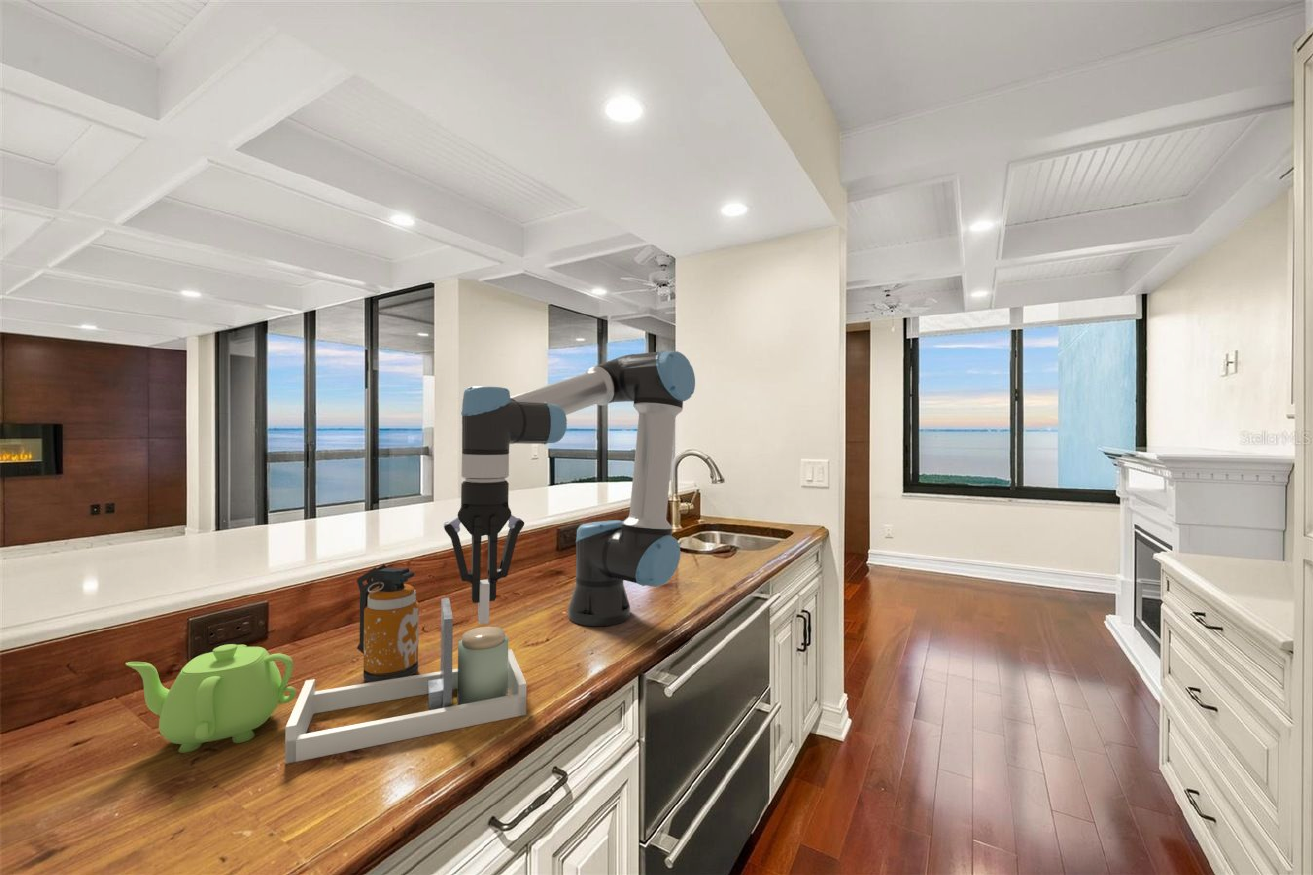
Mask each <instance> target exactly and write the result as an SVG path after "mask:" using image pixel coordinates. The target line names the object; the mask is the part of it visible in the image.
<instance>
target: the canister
mask: <svg viewBox="0 0 1313 875" xmlns="http://www.w3.org/2000/svg"><path fill="white" fill-rule="evenodd" d="M414 576H415V572H414V571H410V568H409V567H402V568H401V567H400V568H399V567H390V566H389V567H388V566H387V565H386V564H382V565H381V566H379V567H378V568H377V567H374V568H372V569H370V570H369V571H367V572H365V573H364V574H362V575H361V576H360V577H358V578H356V583H357V585H358V589H359V605H358V606H359V643H358V645H357V647H356V649H357V650H358V651H360V653H362V654H363V675H362V676H363V679H364V680H365V681H366V682H367V683H371V682H377V681H383V680H389V679H396V678H402V677H408V676H413V674H414V675H415V674H416V672H417V671H418V669H419V661H418V660H419V624H420V623H419V616H420V613H419V612H420V610H419V609H420V606H419V605H420V603H419V602H418V601H417V599H416V598H417V597H416V596H417V595H416V589H415V587H414V586H413V585H411V584H408V583H406V582H408V581H409V579H411V578H413V577H414ZM365 581H366V584H364V582H365Z"/></svg>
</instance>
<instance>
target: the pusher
mask: <svg viewBox="0 0 1313 875" xmlns="http://www.w3.org/2000/svg"><path fill="white" fill-rule="evenodd" d="M440 600H441V602H440V603H441V604H440V606H441V608H440V610H441V611H440V614H441V615H440V617H441V618H440V671H441V676H440V679H436V680H430V681H428V694H427V708H428V710H427V711H429V710H435V709H440V708H445V707H451V706H453V689H452V669H453V633H454V632H453V629H454V627H453V626H454V621H453V620H454V619H453V618H454V617H453V612H452V607H451V602H450V597H444V598H441V599H440Z"/></svg>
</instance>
